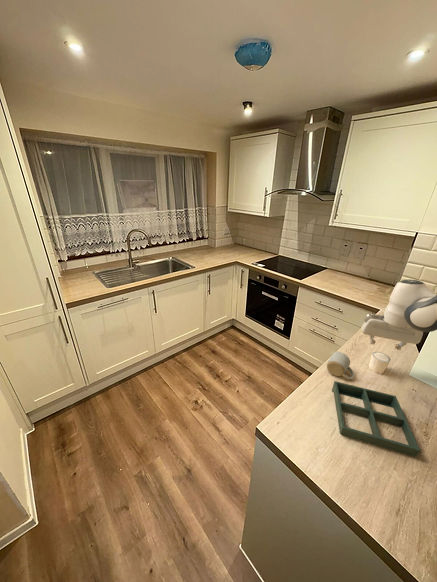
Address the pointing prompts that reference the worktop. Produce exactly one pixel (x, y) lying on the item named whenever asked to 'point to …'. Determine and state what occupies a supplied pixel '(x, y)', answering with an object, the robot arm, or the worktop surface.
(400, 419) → the rack
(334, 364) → the ceramic mug
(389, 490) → the worktop surface
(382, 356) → the shot glass
